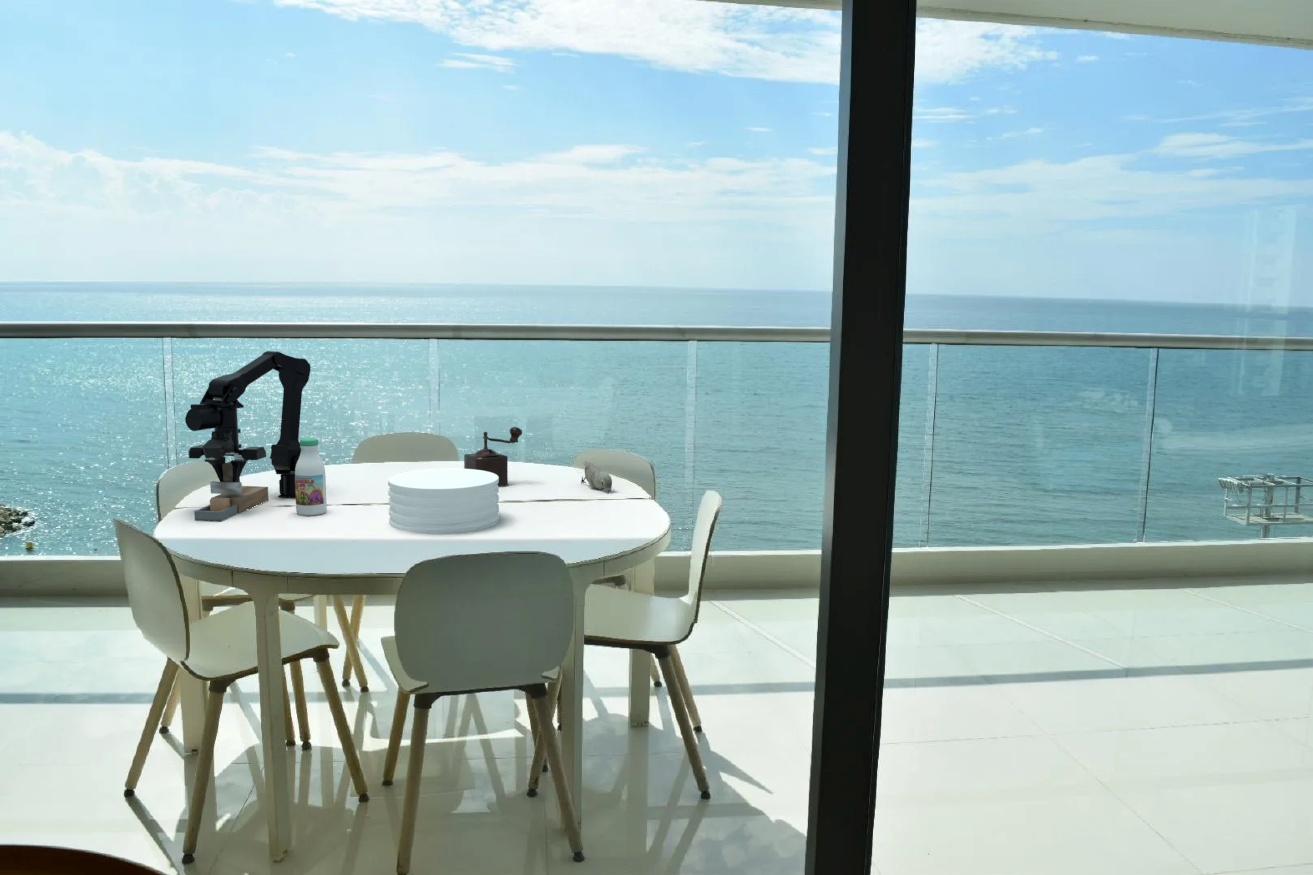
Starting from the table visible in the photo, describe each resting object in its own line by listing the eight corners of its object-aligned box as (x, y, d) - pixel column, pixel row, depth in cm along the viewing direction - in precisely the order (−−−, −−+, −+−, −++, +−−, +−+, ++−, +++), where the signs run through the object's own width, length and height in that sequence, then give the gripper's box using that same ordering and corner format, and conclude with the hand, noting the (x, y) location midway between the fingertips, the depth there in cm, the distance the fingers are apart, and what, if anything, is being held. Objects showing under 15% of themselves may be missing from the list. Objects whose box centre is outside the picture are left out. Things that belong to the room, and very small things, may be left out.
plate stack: (372, 517, 262) (371, 474, 260) (468, 505, 279) (468, 464, 277) (416, 539, 240) (415, 493, 238) (518, 524, 257) (518, 481, 255)
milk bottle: (302, 509, 269) (299, 436, 266) (330, 509, 269) (328, 436, 266) (291, 516, 261) (289, 440, 258) (321, 516, 261) (318, 441, 258)
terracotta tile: (229, 498, 260) (224, 500, 258) (230, 512, 261) (225, 515, 259) (214, 497, 261) (209, 499, 258) (215, 512, 261) (210, 514, 259)
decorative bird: (600, 494, 295) (601, 470, 294) (577, 485, 309) (577, 461, 308) (617, 493, 298) (617, 468, 297) (593, 483, 312) (593, 460, 310)
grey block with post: (249, 489, 267) (247, 462, 266) (240, 494, 262) (238, 466, 261) (220, 488, 268) (219, 461, 266) (210, 493, 263) (208, 465, 261)
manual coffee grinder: (478, 489, 298) (477, 430, 296) (463, 483, 307) (462, 426, 305) (524, 485, 307) (524, 427, 304) (509, 479, 316) (508, 423, 313)
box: (237, 514, 262) (237, 504, 262) (220, 521, 254) (220, 512, 253) (212, 513, 262) (211, 504, 262) (194, 520, 254) (194, 511, 254)
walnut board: (268, 500, 279) (267, 486, 278) (239, 513, 262) (238, 499, 262) (242, 499, 279) (241, 485, 279) (211, 512, 263) (210, 498, 262)
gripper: (175, 429, 255) (178, 489, 257) (245, 431, 253) (248, 491, 255) (198, 423, 266) (201, 481, 268) (265, 425, 264) (268, 483, 266)
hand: (229, 484), depth 264 cm, fingers closed on grey block with post, 3 cm apart
